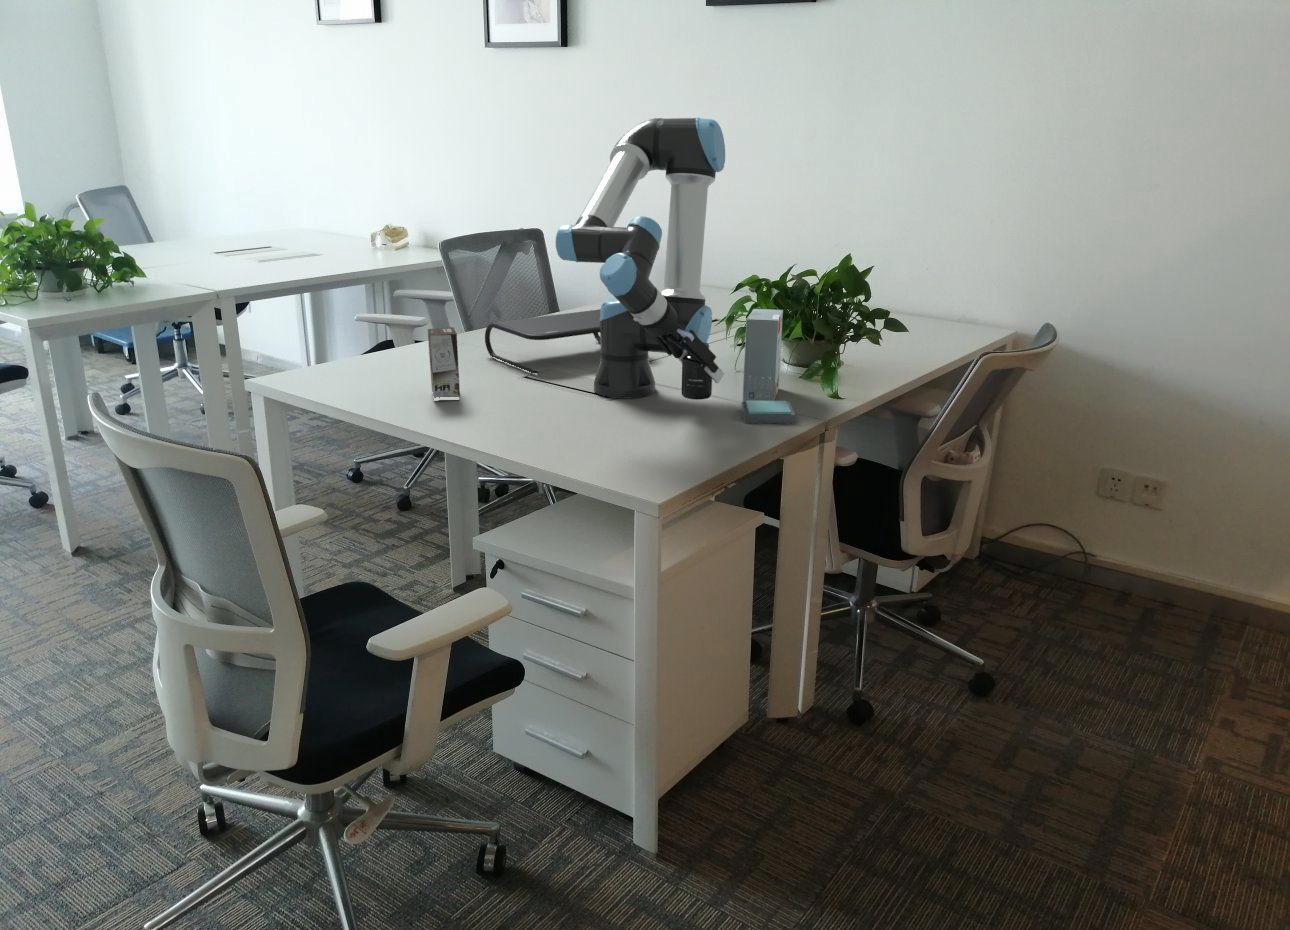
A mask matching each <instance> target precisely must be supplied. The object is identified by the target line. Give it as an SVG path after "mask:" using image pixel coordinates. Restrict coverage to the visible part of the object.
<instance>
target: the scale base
mask: <svg viewBox="0 0 1290 930" xmlns="http://www.w3.org/2000/svg"><path fill="white" fill-rule="evenodd" d="M786 402H787V404H788V406H789V408H790V411H791V414H749V411H748V408H747V405H746V401H741V414H742V417H743V420H744V424H749V425H751V424H757V425H758V424H761V425H763V424H762V423H795V424H796V413H795V411H794V409H793V407H792V404H791V403H790V401H786Z"/></svg>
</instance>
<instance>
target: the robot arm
mask: <svg viewBox="0 0 1290 930" xmlns="http://www.w3.org/2000/svg"><path fill="white" fill-rule="evenodd" d="M609 162H610V163H609V165H608V167H607V168H606V170H605V172H604V173H603V174H602V177H601V178H600V180H599V182H598V184H597V185H596V188H595V189H594V191H593V193H592V195H591V196H590V197H589V200H588V201H587V203H586V205H585V207H584V208H583V210H582V212H581V214H580V215H579V218H578V219H577V220H576V222H575V224H574V225H573V224H567V225H566V224H565V225H561V226H560V227H559V228H558V230H557V232H556V236H555V249H556V253H557V255H558V257H559V258H560V259H561V260H563V261H569V262H575V263H596V264H599V263H600V264H602V265H601V267H600V269H599V279H600V281H601V282H602V283H603V285H604V286H605V288H606V289H607V291H608V292H609V293H610V294H611V295H612V296H613V298H609V299H607V300H605V301H603V302H602V304H601V305H600V309H601V313H600V332H599V336H600V341H601V344H600V361H599V366H598V368H597V371H596V374H595V378H594V382H593V391H595V392H596V393H598V394H599V396H601V395H602V396H601V397H605V396H607V397H606V398H611V397H612V398H613V399H636V398H637V399H638V398H642V397H644V398H645V397H648V396H650V395H652V394H655V392H656V381H655V378H654V374H653V371H652V368H651V364H650V361H649V352H650V353H662V354H667V355H668V356H673V358H675V359H678V361H679V362H680V363H681V364H682V360H683V357H684V356H685V355H687V354H688V353H689V354H691V355H692V356H693V357H694V358H695V359H696V360H698V361H699V362H700V363H701V364H702V365H701V368H702V369H704V370H705V371H706V372H707V373H708V374H709V376H710V377H711V378H712V381H714V382H715V384H719V383H720V382H721V380H722V379H723V377H724V376H725V375H726V374H725V372H724V371H723V370H722V368H721V367H720V366H719V365H718V364H717V363H716V362H715V359H716V358H717V356H716V354H715V353H713V352H712V350H710V347H709V348H708V347H707V346H706V345H705V344H704V343H703V342H705V343H708V341H709V338H710V335H711V330H712V324H713V311H712V308H711V307H710V306H708V305H707V304H706V297H705V296H704V295H703V294H702V292H701V279H702V278H701V277H702V268H703V252H704V240H705V229H706V216H707V204H708V192H709V191H708V190H709V188H710V185H712V184H713V183H714V182H716V181H715V180H716V174H717V173H720V172H722V171H723V170H724V168H725V164H726V145H725V138H724V134H723V131H722V128H721V126H720V124H719V123H718V121H716V120H715V119H712V118H711V119H710V118H700V117H691V118H690V117H689V118H688V117H682V118H681V117H679V118H674V117H673V118H664V117H663V118H661V117H658V118H651V119H650V118H649V119H647V120H645V121H642V122H640V123H639V124H637V125H635V126H634V127H632V128H631V129H630V130H628V131H627V132H626V133H624V134H623V136H622V137H620V138H619V140H618V141H617V142H616V144H615V145H614V146H613V149H612V150H611V152H610V155H609ZM651 171H665V178H666V180H667V182H669V183H670V185H671V186H670V199H669V200H670V201H669V213H668V226H667V227H668V228H667V236H666V237H667V239H666V251H665V252H666V253H665V263H664V264H665V265H664V267H665V268H664V281H663V287H662V290H661V291H660V290H659V289H658V288H657V287H656V286H655V285H654V284H653V283H652V282H651V280H650V276H651V273H652V269H653V266H654V263H655V260H656V258H657V255H658V252H659V250H660V247H661V246H660V245H661V241H662V237H663V230H662V227H661V226H660V224H659V223H658V222H657V221H656V220H654V219H653V218H650V217H647V216H644V215H641V216H639V215H638V216H636V217H634V218H632V219H630V221H629V223H628V224H627V227H620V226H615V225H616V224H617V221H619V218H620V216H621V214H622V212H623V210H624V209H625V206H626V205H627V203H628V201H629V199H630V197H631V195H632V193H633V192H634V190H635V188H636V186H637V184H638V182H639V180H642V179H644V178H645V177H646V176H647V175H648V173H649V172H651ZM595 392H594V393H595ZM596 393H595V394H596ZM598 394H597V395H598Z"/></svg>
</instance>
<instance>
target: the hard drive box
mask: <svg viewBox="0 0 1290 930" xmlns="http://www.w3.org/2000/svg"><path fill="white" fill-rule="evenodd" d="M783 313H784V309H768V308H767V309H766V308H763V309H762V308H753V309H752V310H751V312H750V314H749V315H748V317H747V318H746V323H745V324H746V326H745V340H744V341H745V342H744V343H745V344H744V345H745V346H744V363H743V364H744V365H743V381H742V382H743V384H742V402H746V401H776V397H777V394H778V392H779V387H780V374H781V353H782V351H781V350H782V335H783V315H784V314H783Z"/></svg>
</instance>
